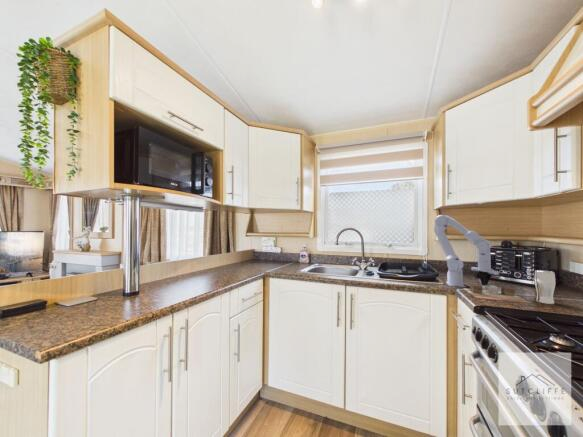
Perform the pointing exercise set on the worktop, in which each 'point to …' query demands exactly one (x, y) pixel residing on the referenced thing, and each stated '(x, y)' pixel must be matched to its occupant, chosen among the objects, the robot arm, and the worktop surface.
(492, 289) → the metal block
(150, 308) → the worktop surface
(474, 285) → the walnut block
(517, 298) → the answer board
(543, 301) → the beer glass
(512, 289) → the walnut block
